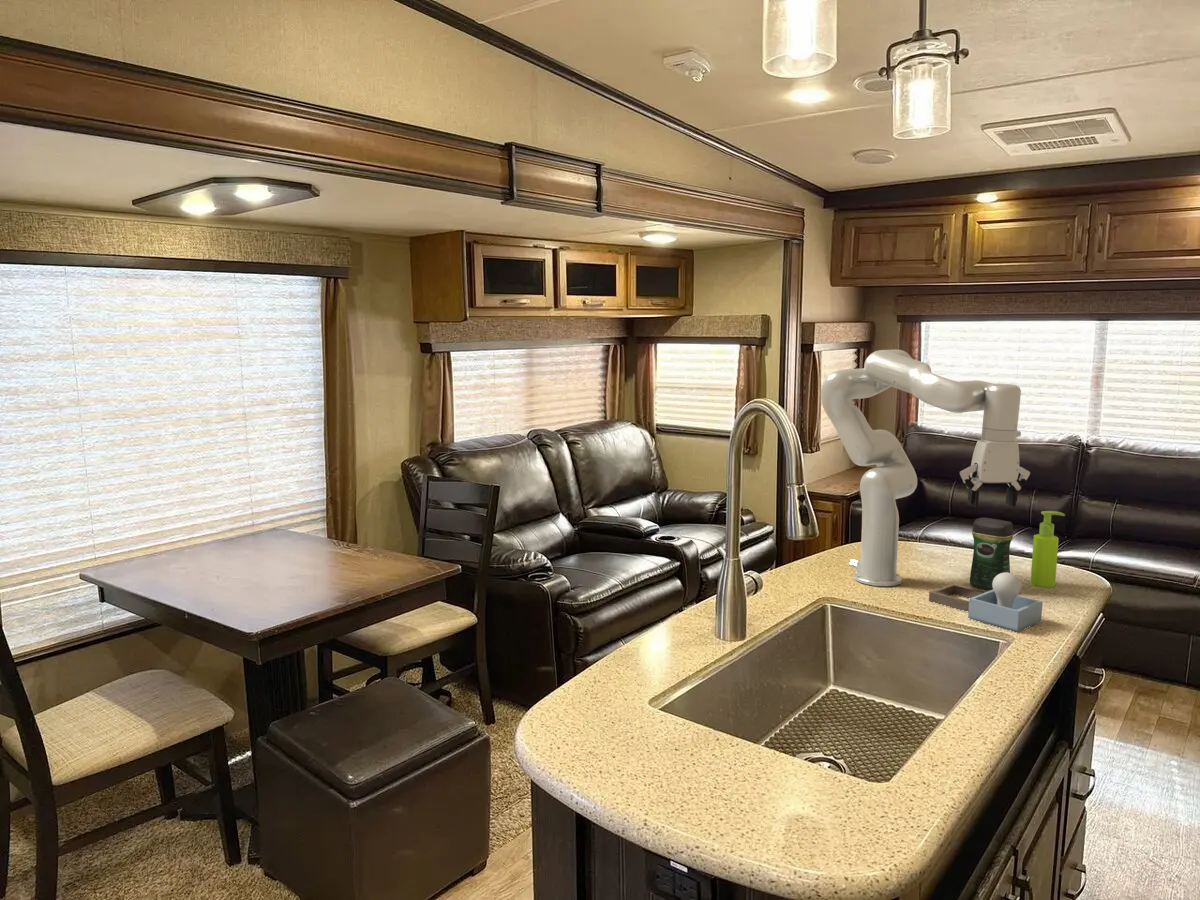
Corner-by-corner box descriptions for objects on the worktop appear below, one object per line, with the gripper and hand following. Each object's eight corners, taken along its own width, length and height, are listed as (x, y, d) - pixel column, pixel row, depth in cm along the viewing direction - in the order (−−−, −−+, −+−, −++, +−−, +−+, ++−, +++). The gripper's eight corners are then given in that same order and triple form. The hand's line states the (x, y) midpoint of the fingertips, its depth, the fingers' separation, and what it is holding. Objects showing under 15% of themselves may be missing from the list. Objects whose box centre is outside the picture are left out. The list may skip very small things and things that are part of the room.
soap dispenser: (1062, 588, 217) (1068, 514, 214) (1034, 586, 218) (1039, 513, 216) (1054, 581, 223) (1060, 509, 220) (1027, 580, 224) (1032, 508, 221)
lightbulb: (988, 611, 197) (993, 567, 196) (1017, 615, 195) (1021, 571, 193) (989, 619, 192) (994, 574, 190) (1018, 624, 189) (1023, 578, 188)
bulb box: (968, 618, 195) (969, 598, 194) (992, 608, 202) (993, 589, 201) (1017, 632, 186) (1018, 611, 185) (1041, 621, 192) (1042, 601, 192)
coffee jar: (1014, 588, 217) (1019, 520, 215) (1001, 594, 212) (1005, 524, 210) (978, 579, 225) (982, 513, 222) (964, 585, 220) (968, 518, 217)
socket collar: (928, 601, 207) (929, 591, 207) (951, 592, 214) (952, 583, 213) (970, 613, 199) (971, 603, 198) (993, 603, 205) (994, 594, 205)
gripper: (1023, 433, 200) (1015, 501, 203) (956, 433, 198) (949, 502, 201) (1042, 438, 192) (1034, 508, 195) (973, 438, 191) (966, 509, 193)
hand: (991, 505), depth 198 cm, fingers open, 9 cm apart
